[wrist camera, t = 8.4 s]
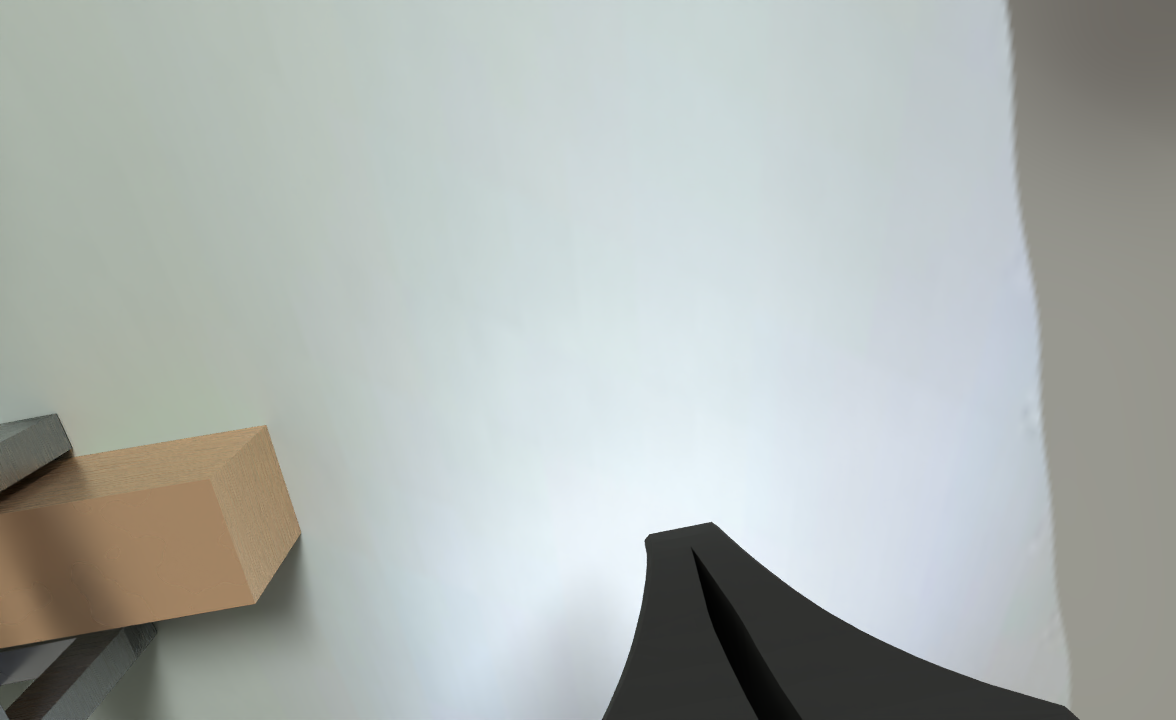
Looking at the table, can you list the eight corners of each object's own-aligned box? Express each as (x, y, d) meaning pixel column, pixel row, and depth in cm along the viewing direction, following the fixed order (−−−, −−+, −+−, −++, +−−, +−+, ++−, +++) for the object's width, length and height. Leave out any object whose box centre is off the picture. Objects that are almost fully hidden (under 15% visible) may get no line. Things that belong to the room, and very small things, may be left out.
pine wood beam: (304, 528, 22) (255, 603, 18) (-110, 599, 22) (-248, 691, 18) (269, 421, 21) (209, 478, 17) (-169, 495, 21) (-330, 569, 17)
